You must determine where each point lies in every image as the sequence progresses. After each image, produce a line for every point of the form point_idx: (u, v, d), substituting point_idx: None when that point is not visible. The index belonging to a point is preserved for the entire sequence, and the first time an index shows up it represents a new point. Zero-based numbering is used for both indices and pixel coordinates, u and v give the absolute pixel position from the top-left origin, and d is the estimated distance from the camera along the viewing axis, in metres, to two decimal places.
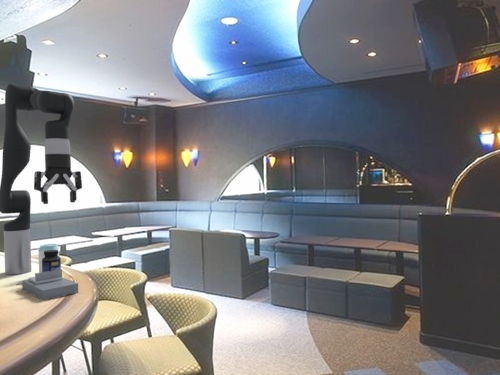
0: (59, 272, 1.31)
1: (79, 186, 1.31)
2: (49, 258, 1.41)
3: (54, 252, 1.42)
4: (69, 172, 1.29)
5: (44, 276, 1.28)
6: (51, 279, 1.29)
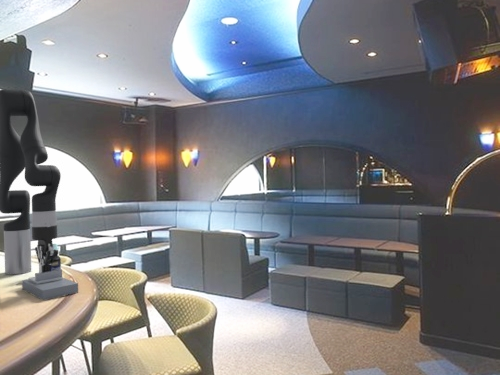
0: (59, 272, 1.31)
1: None
2: None
3: None
4: None
5: (44, 276, 1.28)
6: (51, 279, 1.29)
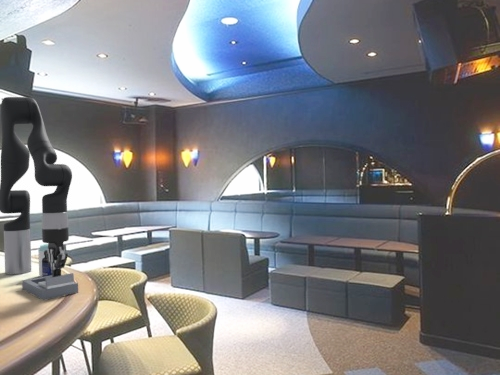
0: (70, 276, 1.25)
1: None
2: None
3: None
4: None
5: (55, 281, 1.21)
6: (62, 284, 1.23)
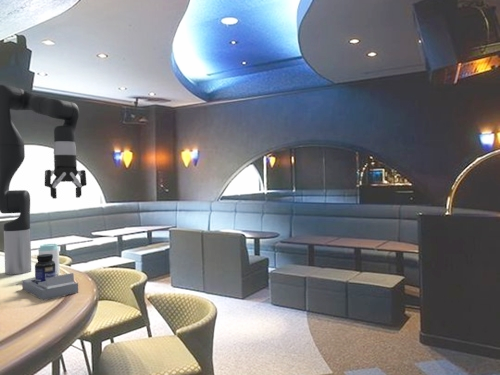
0: (70, 276, 1.25)
1: None
2: (43, 263, 1.29)
3: (48, 257, 1.30)
4: None
5: (55, 281, 1.21)
6: (62, 284, 1.23)
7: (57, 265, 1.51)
